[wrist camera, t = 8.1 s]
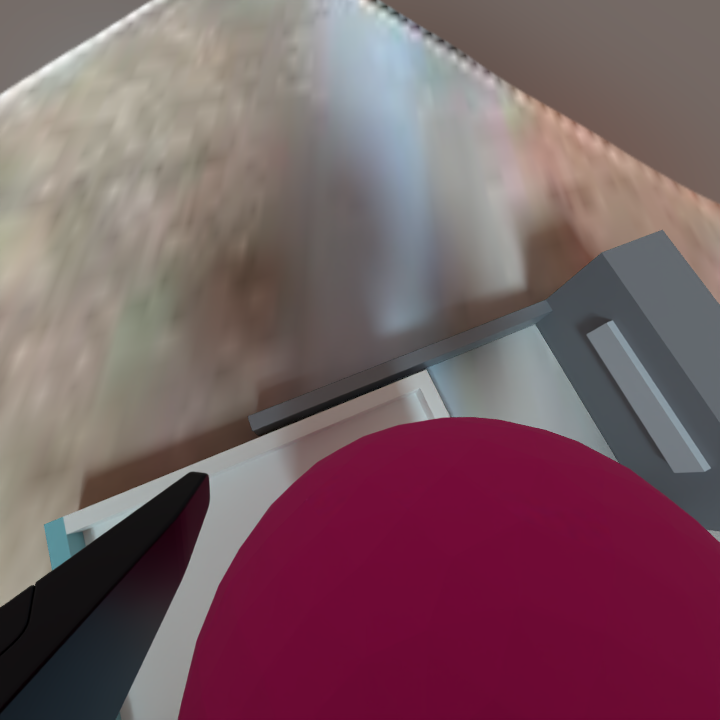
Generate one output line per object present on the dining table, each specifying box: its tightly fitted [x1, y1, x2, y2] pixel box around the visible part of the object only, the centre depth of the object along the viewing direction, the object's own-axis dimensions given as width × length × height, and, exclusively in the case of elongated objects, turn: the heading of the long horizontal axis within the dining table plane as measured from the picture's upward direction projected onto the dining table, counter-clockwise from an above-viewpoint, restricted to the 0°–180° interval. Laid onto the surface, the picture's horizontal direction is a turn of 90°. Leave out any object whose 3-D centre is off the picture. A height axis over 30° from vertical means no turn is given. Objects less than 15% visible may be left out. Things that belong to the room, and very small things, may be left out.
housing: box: [248, 230, 720, 531], centre depth 19 cm, size 23×14×7 cm, turn 113°
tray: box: [44, 370, 450, 720], centre depth 18 cm, size 20×12×2 cm, turn 114°
